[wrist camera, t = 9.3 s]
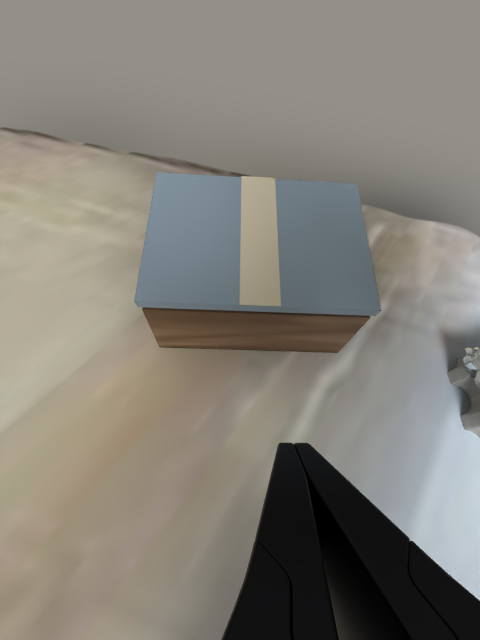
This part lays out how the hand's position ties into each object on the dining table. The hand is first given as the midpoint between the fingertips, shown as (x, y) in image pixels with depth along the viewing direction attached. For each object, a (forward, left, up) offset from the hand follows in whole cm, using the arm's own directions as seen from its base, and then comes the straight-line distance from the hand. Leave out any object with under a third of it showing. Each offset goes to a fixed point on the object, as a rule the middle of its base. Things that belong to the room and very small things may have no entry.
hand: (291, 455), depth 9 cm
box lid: (+11, -8, -7) cm, 15 cm away
